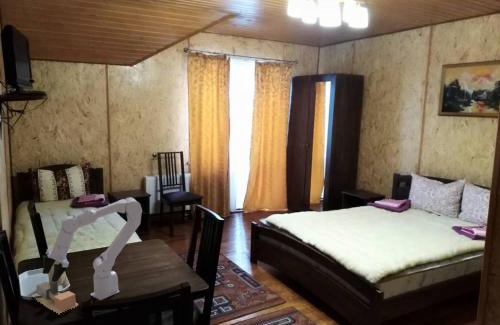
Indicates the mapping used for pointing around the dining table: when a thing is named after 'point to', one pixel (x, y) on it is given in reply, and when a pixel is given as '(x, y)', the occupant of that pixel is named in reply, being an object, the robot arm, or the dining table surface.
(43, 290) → the grey sleeve
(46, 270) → the robot arm
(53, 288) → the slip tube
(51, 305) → the birch board
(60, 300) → the socket block
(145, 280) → the dining table surface
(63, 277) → the skincare box
